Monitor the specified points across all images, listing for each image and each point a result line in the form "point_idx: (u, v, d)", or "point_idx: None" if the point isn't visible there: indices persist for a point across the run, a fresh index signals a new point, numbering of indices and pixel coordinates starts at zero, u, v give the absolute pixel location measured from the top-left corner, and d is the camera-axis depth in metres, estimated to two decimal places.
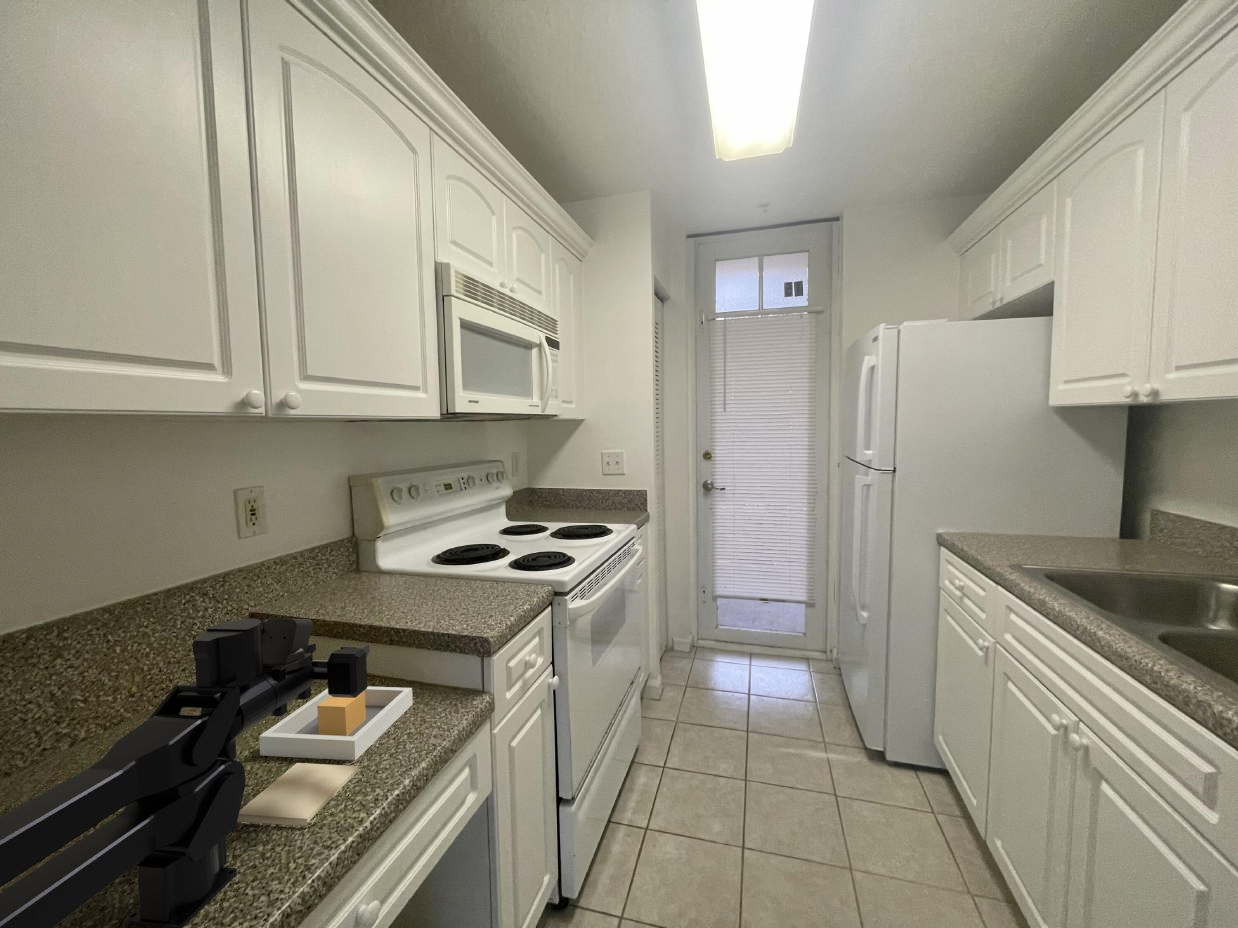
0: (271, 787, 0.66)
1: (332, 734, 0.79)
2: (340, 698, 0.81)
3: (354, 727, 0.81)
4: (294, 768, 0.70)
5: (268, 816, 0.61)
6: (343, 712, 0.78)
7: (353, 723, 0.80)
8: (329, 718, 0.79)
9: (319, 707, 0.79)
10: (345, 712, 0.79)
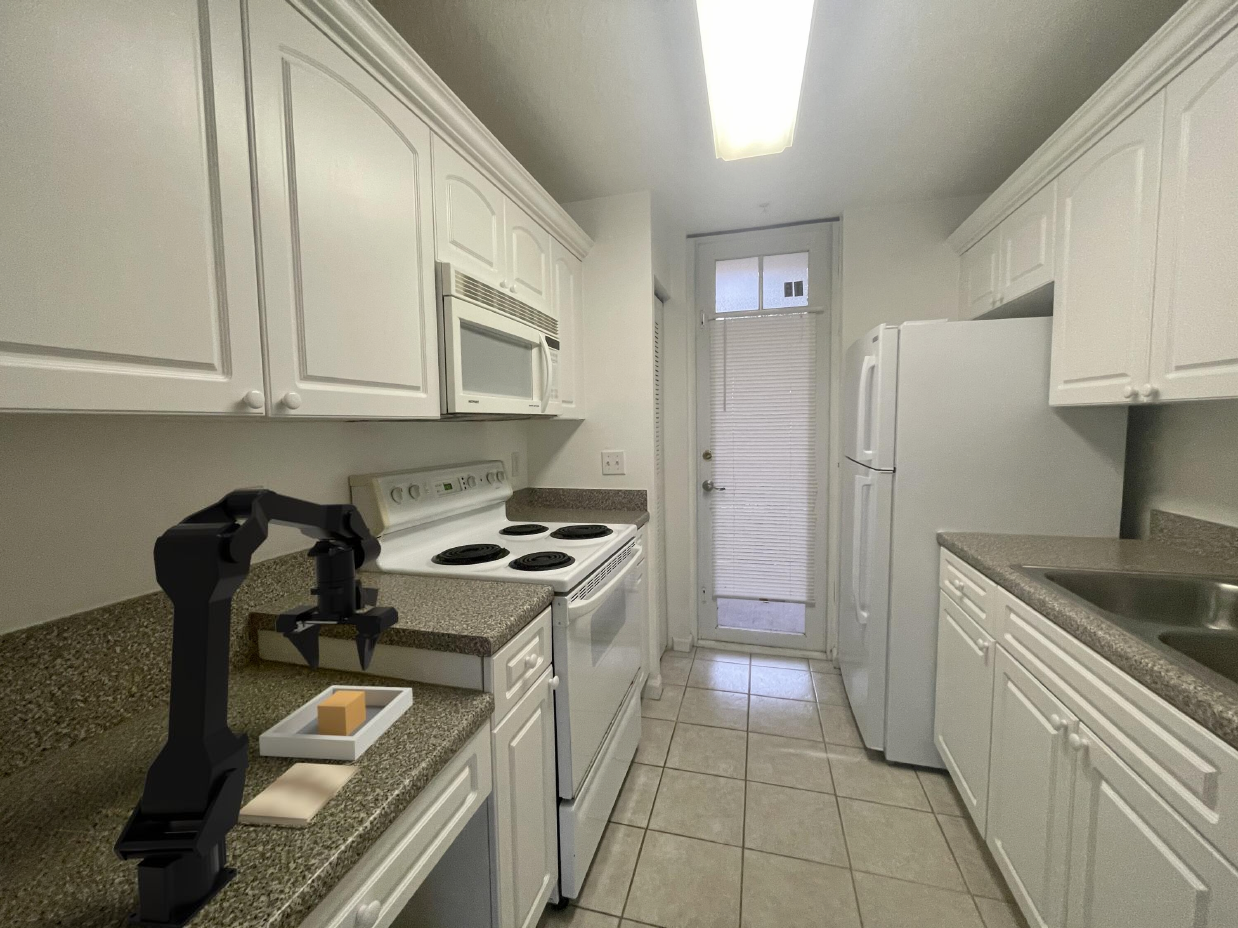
0: (271, 787, 0.66)
1: (332, 734, 0.79)
2: (340, 698, 0.81)
3: (354, 727, 0.81)
4: (294, 768, 0.70)
5: (268, 816, 0.61)
6: (343, 712, 0.78)
7: (353, 723, 0.80)
8: (329, 718, 0.79)
9: (319, 707, 0.79)
10: (345, 712, 0.79)
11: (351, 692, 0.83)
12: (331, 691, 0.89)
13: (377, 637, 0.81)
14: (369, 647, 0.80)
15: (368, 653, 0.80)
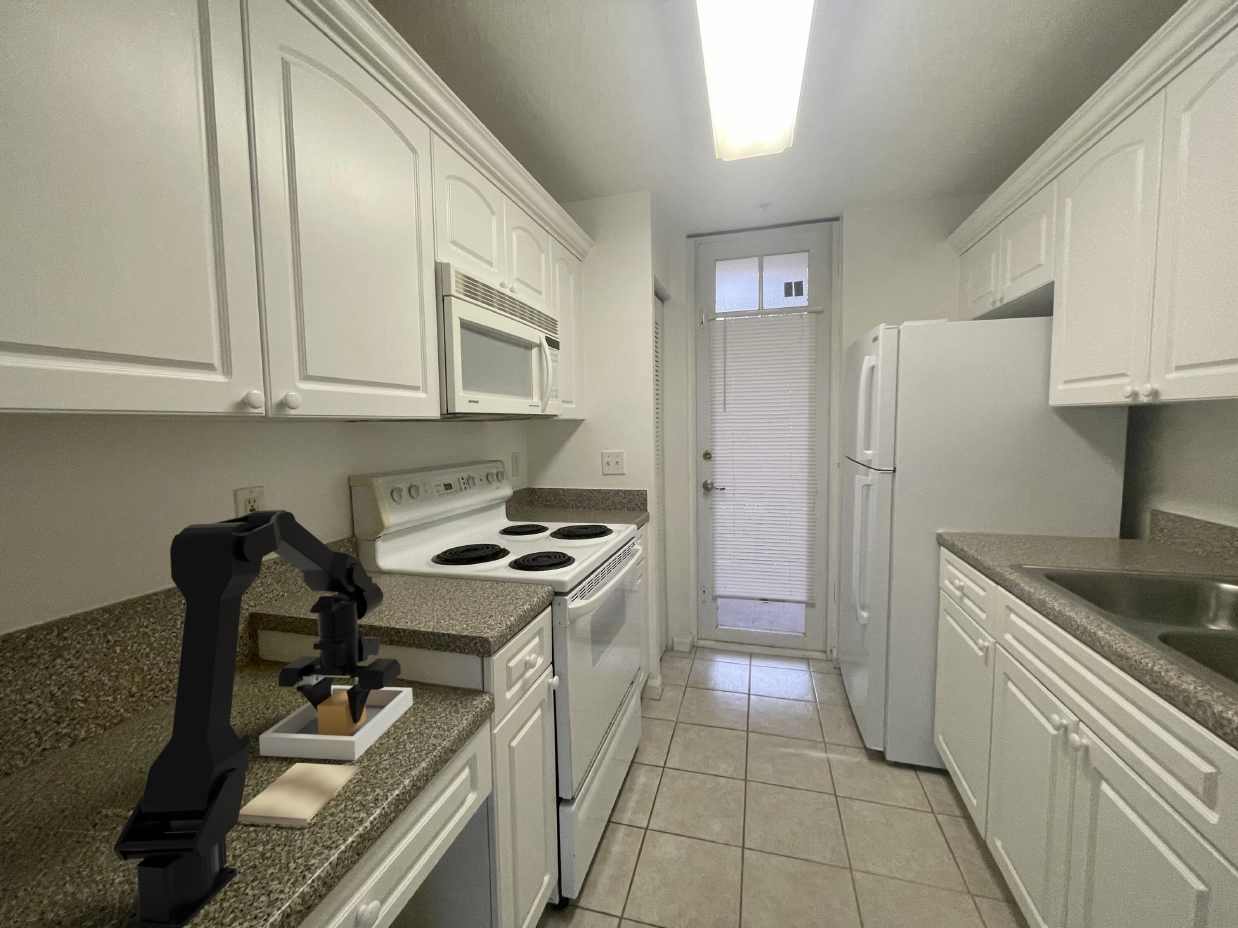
0: (271, 787, 0.66)
1: (332, 734, 0.79)
2: (340, 698, 0.81)
3: (354, 727, 0.81)
4: (294, 768, 0.70)
5: (268, 816, 0.61)
6: (343, 712, 0.78)
7: (353, 723, 0.80)
8: (329, 718, 0.79)
9: (319, 707, 0.79)
10: (345, 712, 0.79)
11: None
12: (331, 691, 0.89)
13: (369, 689, 0.82)
14: (361, 700, 0.80)
15: (360, 706, 0.80)
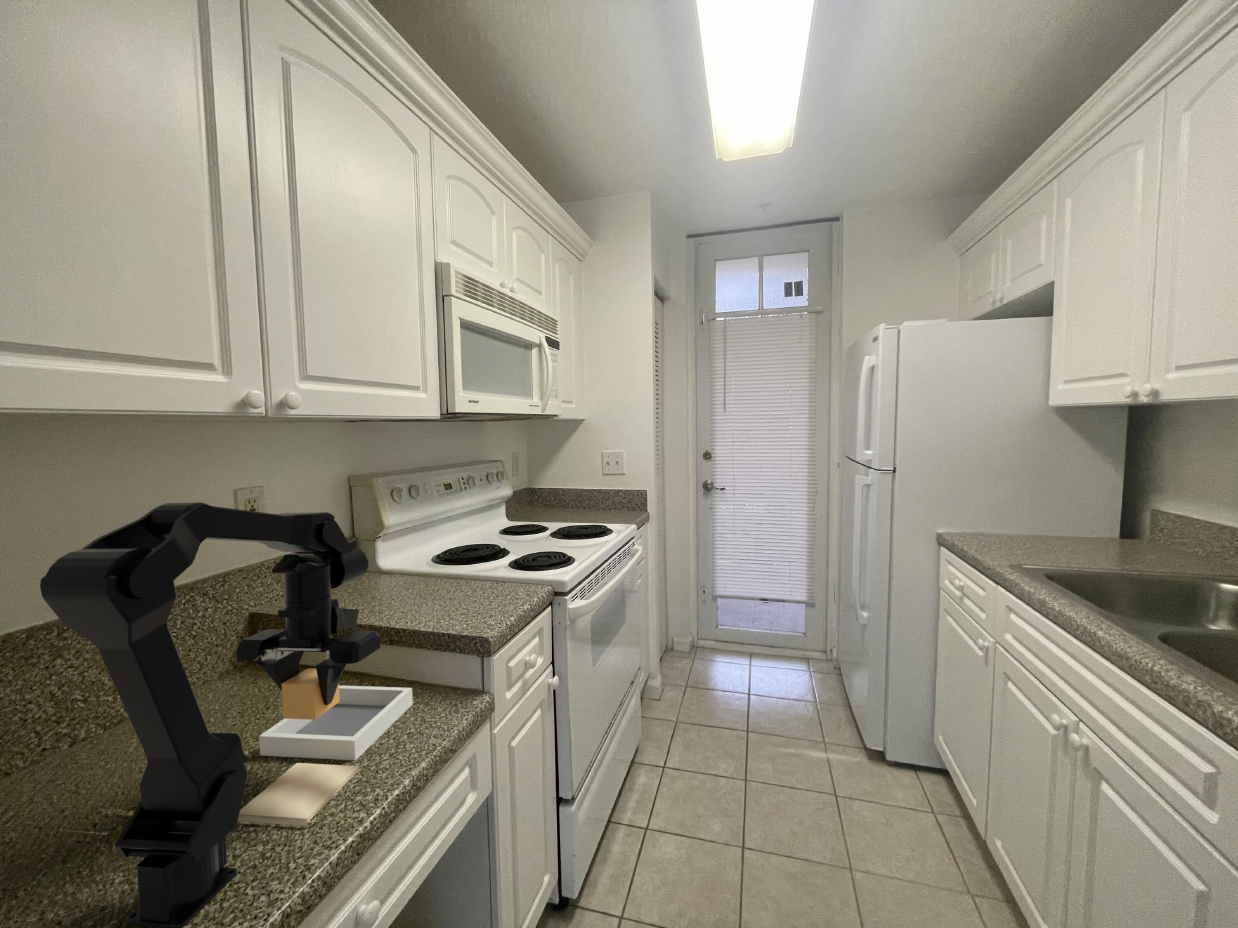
0: (271, 787, 0.66)
1: (298, 717, 0.68)
2: (309, 676, 0.70)
3: (325, 709, 0.69)
4: (294, 768, 0.70)
5: (268, 816, 0.61)
6: (312, 690, 0.67)
7: (323, 704, 0.69)
8: (295, 698, 0.68)
9: (284, 685, 0.68)
10: (314, 691, 0.68)
11: None
12: None
13: (343, 666, 0.71)
14: (333, 678, 0.69)
15: (331, 685, 0.69)
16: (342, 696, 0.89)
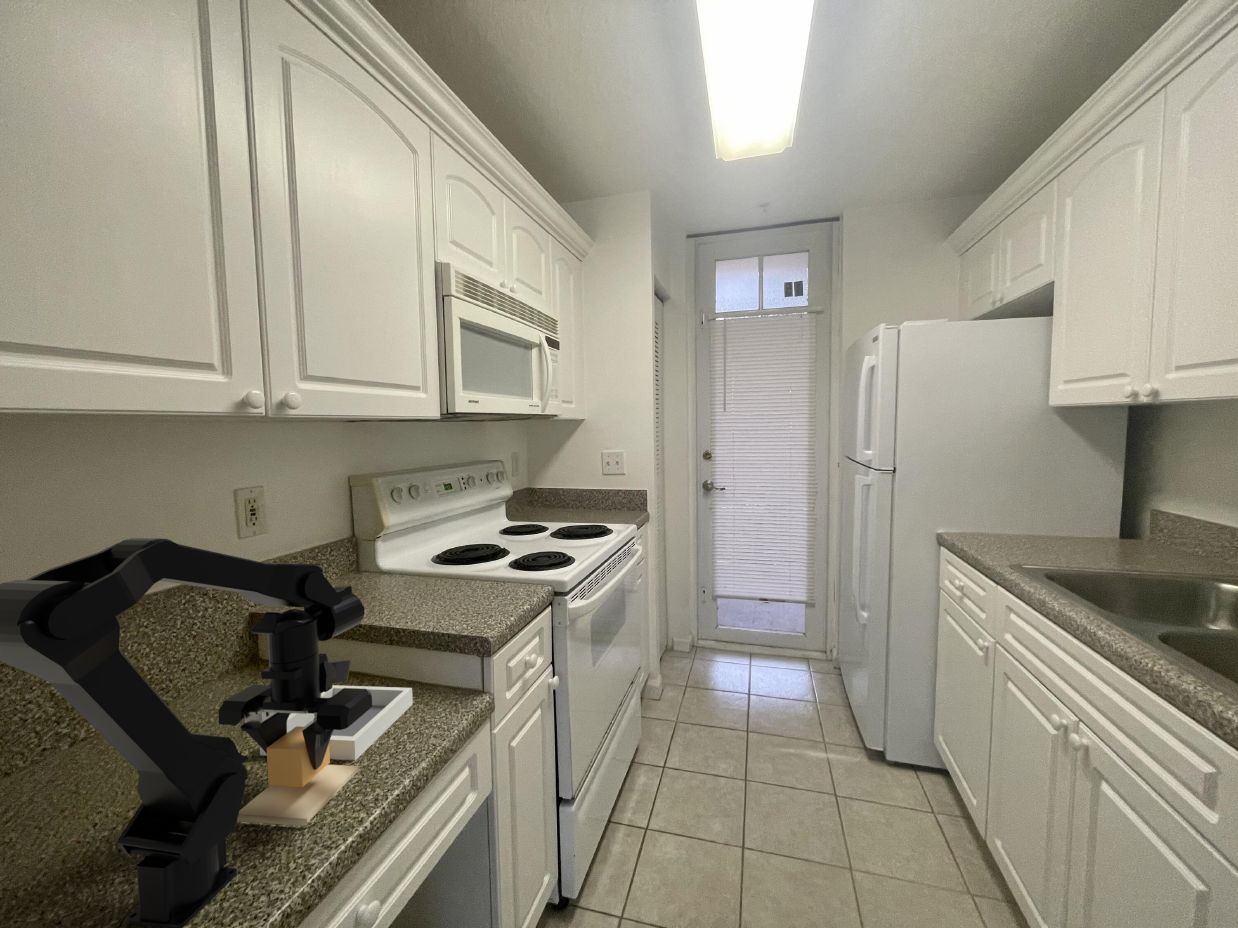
0: (271, 787, 0.66)
1: (285, 784, 0.63)
2: (297, 737, 0.66)
3: (314, 774, 0.65)
4: None
5: (268, 816, 0.61)
6: (299, 756, 0.63)
7: (312, 769, 0.65)
8: (281, 764, 0.63)
9: (269, 750, 0.63)
10: (302, 756, 0.63)
11: None
12: (331, 691, 0.89)
13: None
14: (322, 740, 0.65)
15: (320, 748, 0.65)
16: None
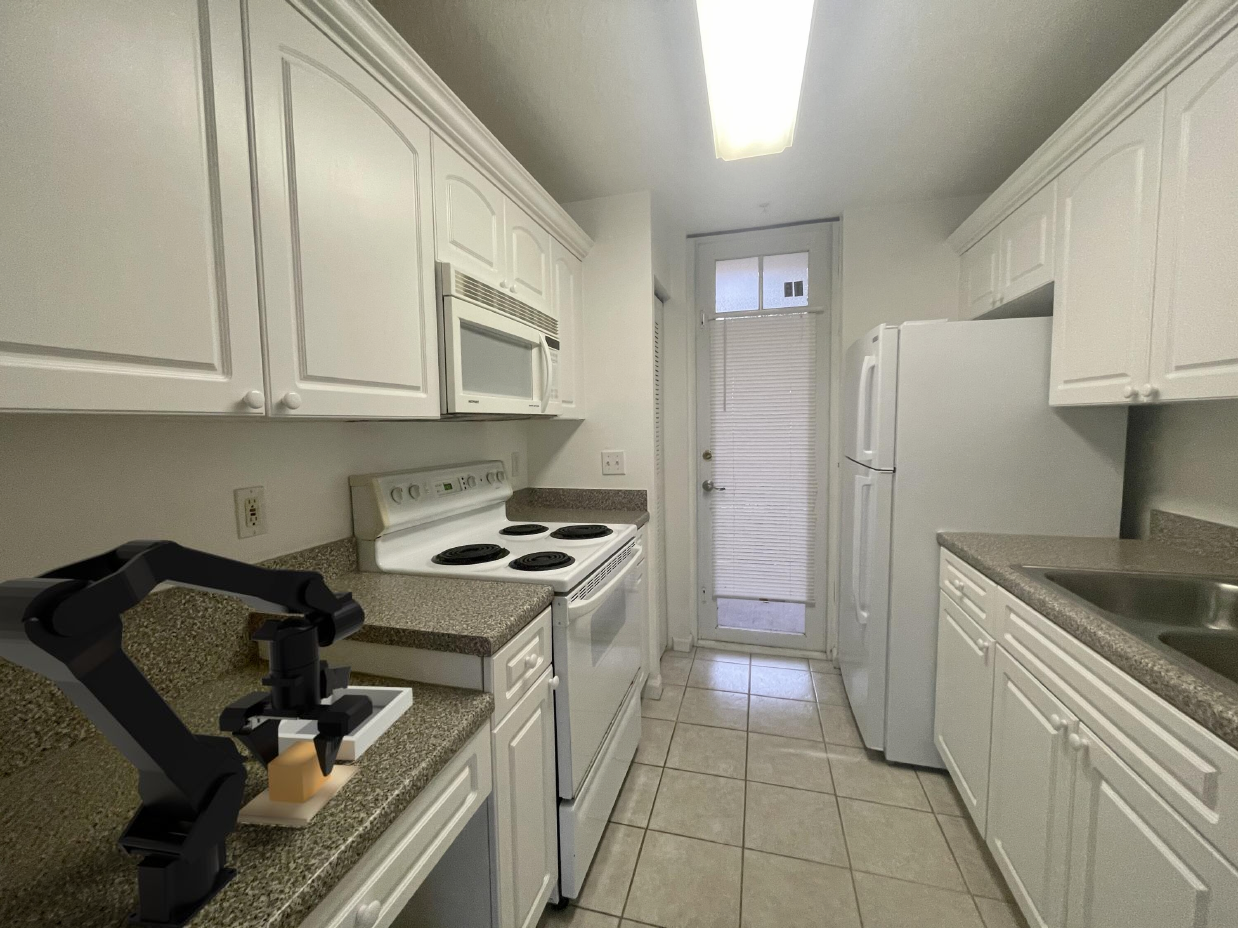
0: None
1: (286, 799, 0.63)
2: (298, 753, 0.66)
3: (315, 789, 0.65)
4: None
5: (268, 816, 0.61)
6: (300, 772, 0.63)
7: (313, 784, 0.65)
8: (282, 779, 0.63)
9: (270, 766, 0.63)
10: (303, 772, 0.63)
11: (312, 744, 0.68)
12: None
13: None
14: (332, 748, 0.65)
15: (331, 755, 0.65)
16: None
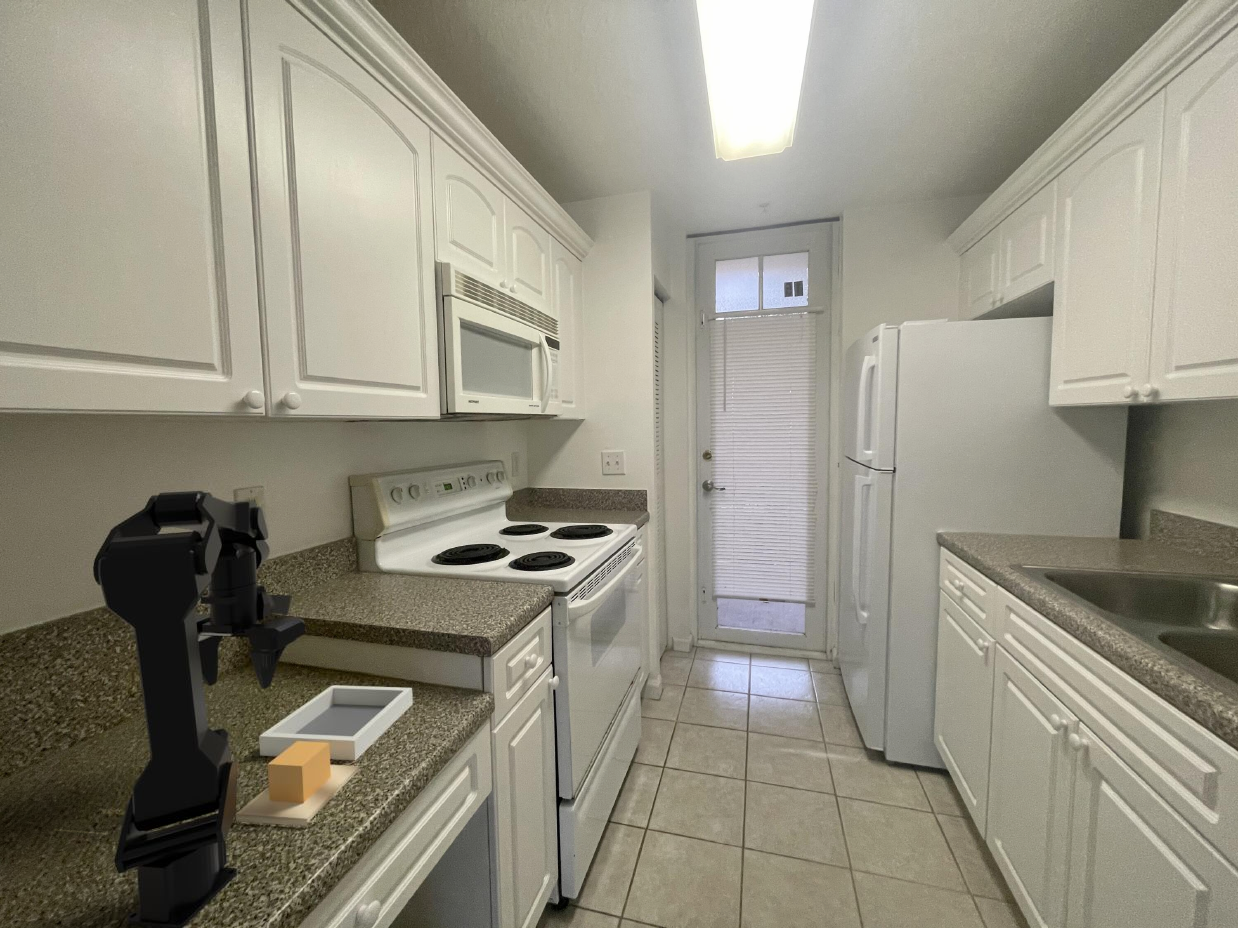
0: None
1: (286, 799, 0.63)
2: (298, 753, 0.66)
3: (315, 789, 0.65)
4: None
5: (268, 816, 0.61)
6: (300, 772, 0.63)
7: (313, 784, 0.65)
8: (282, 779, 0.63)
9: (270, 766, 0.63)
10: (303, 772, 0.63)
11: (312, 744, 0.68)
12: (331, 691, 0.89)
13: (280, 651, 0.72)
14: (269, 663, 0.71)
15: (268, 669, 0.71)
16: (342, 696, 0.89)
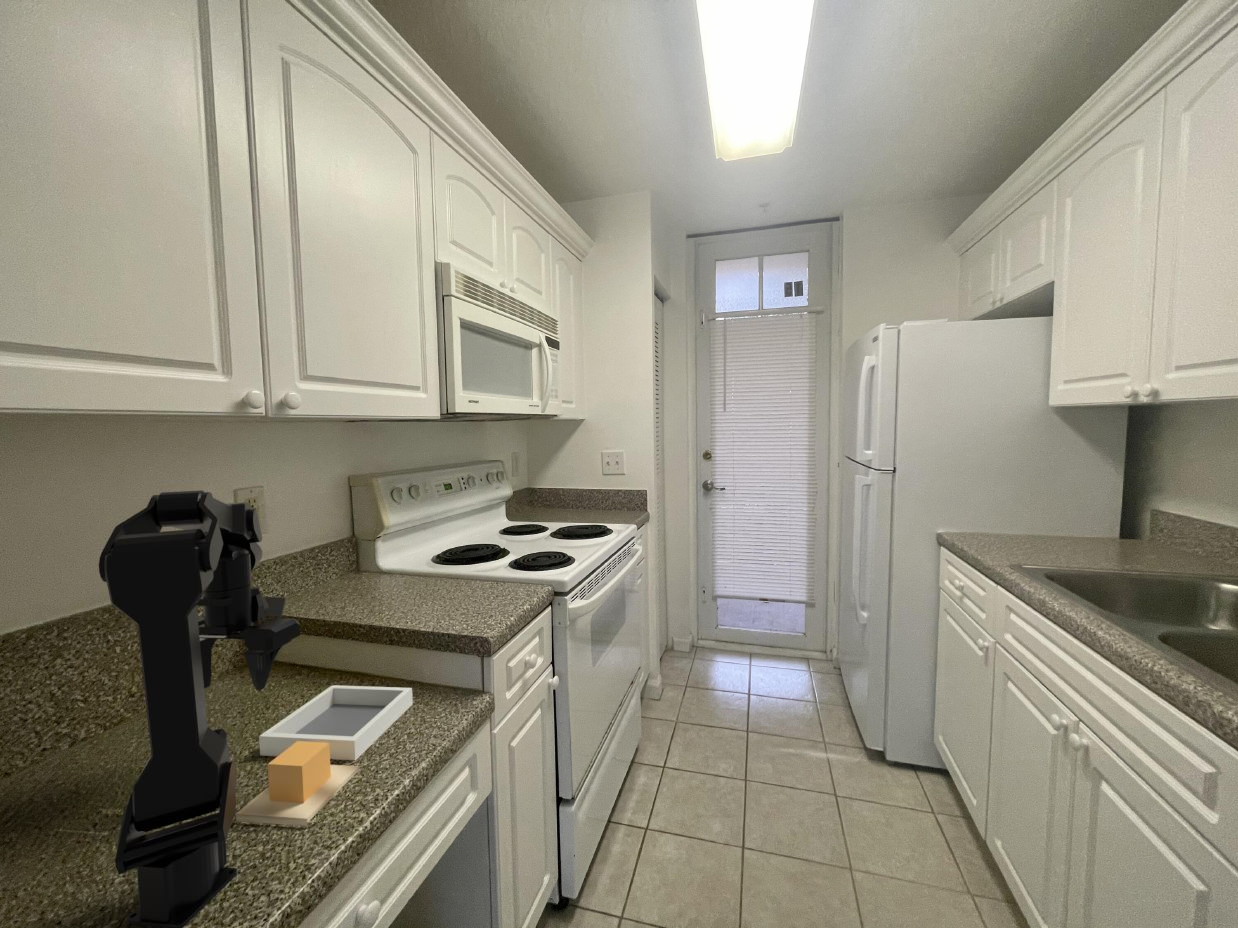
0: None
1: (286, 799, 0.63)
2: (298, 753, 0.66)
3: (315, 789, 0.65)
4: None
5: (268, 816, 0.61)
6: (300, 772, 0.63)
7: (313, 784, 0.65)
8: (282, 779, 0.63)
9: (270, 766, 0.63)
10: (303, 772, 0.63)
11: (312, 744, 0.68)
12: (331, 691, 0.89)
13: (275, 653, 0.72)
14: (264, 664, 0.71)
15: (262, 671, 0.71)
16: (342, 696, 0.89)
